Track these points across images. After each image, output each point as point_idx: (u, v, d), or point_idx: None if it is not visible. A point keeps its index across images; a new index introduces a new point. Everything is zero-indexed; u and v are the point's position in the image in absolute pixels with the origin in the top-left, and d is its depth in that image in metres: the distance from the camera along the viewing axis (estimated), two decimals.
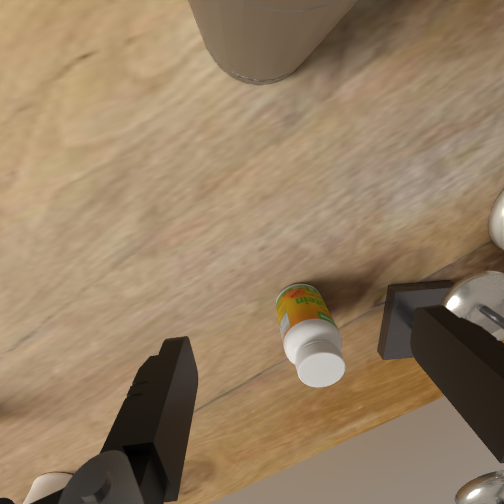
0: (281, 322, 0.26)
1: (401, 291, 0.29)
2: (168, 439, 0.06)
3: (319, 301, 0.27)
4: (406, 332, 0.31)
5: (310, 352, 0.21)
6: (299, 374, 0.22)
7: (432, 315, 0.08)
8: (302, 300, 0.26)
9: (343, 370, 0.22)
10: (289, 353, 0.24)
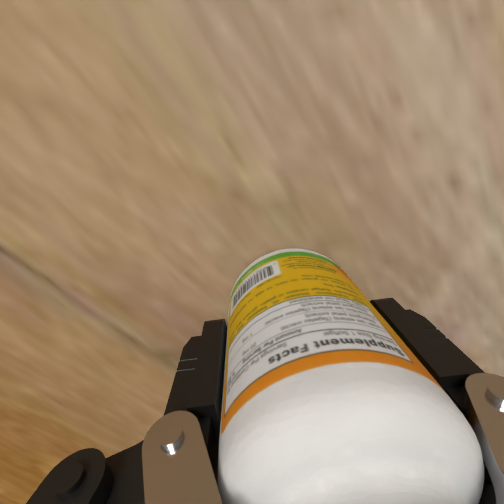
0: (332, 301, 0.07)
1: None
2: (221, 406, 0.07)
3: None
4: None
5: None
6: None
7: (381, 307, 0.09)
8: None
9: None
10: (335, 434, 0.04)
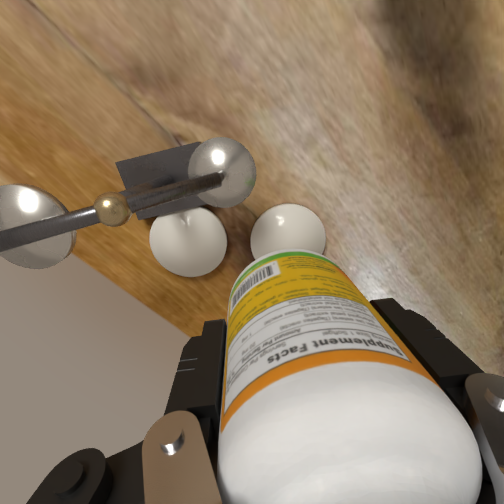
0: (331, 301, 0.07)
1: None
2: None
3: None
4: (156, 173, 0.31)
5: None
6: None
7: (381, 307, 0.09)
8: None
9: None
10: (334, 433, 0.04)
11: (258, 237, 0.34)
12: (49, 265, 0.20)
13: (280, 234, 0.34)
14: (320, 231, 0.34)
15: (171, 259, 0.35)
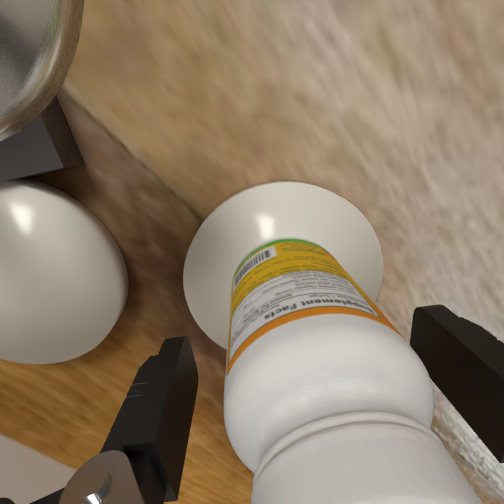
0: (318, 274, 0.08)
1: None
2: (168, 439, 0.06)
3: None
4: None
5: (481, 501, 0.04)
6: None
7: (432, 315, 0.08)
8: None
9: None
10: (314, 361, 0.05)
11: (205, 273, 0.13)
12: None
13: None
14: (370, 258, 0.13)
15: None
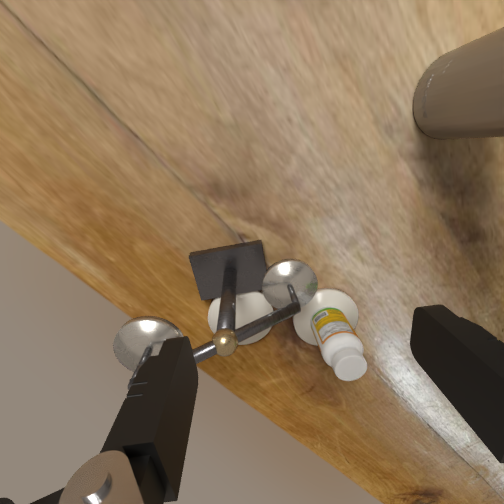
0: (340, 322, 0.36)
1: None
2: (168, 439, 0.06)
3: None
4: (222, 266, 0.36)
5: (364, 358, 0.31)
6: (348, 357, 0.31)
7: (432, 315, 0.08)
8: None
9: (350, 380, 0.32)
10: (341, 340, 0.33)
11: (301, 316, 0.40)
12: None
13: None
14: (354, 312, 0.40)
15: None
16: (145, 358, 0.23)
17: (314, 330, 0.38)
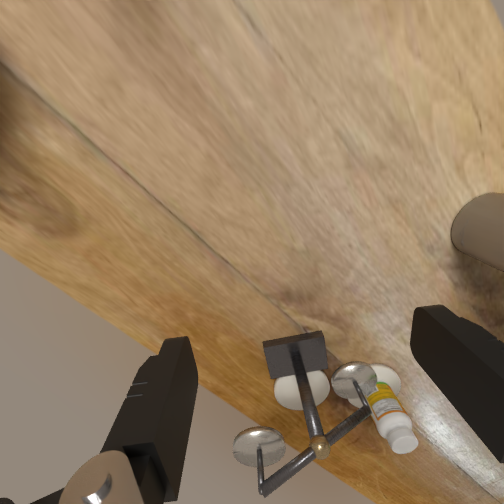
0: (390, 399, 0.43)
1: None
2: (168, 439, 0.06)
3: None
4: (290, 353, 0.44)
5: (415, 437, 0.39)
6: (403, 437, 0.38)
7: (432, 315, 0.08)
8: None
9: (403, 453, 0.40)
10: (395, 420, 0.40)
11: None
12: (266, 465, 0.33)
13: None
14: (397, 383, 0.48)
15: (287, 399, 0.48)
16: (261, 461, 0.31)
17: None
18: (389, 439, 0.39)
